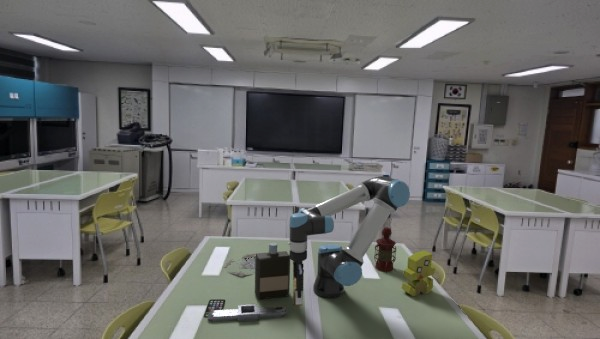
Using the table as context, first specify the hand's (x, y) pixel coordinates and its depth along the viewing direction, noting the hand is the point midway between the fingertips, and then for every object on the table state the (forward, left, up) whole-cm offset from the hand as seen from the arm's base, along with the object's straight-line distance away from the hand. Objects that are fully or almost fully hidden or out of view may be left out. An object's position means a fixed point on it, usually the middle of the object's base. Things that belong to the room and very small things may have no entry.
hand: (297, 301), depth 160 cm
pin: (0, 0, -2) cm, 2 cm away
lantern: (-57, -42, -5) cm, 71 cm away
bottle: (+10, -17, -5) cm, 20 cm away
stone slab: (+19, -56, -6) cm, 59 cm away
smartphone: (+36, -7, -5) cm, 37 cm away
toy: (-62, -12, -5) cm, 64 cm away
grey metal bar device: (+22, +1, -5) cm, 22 cm away
